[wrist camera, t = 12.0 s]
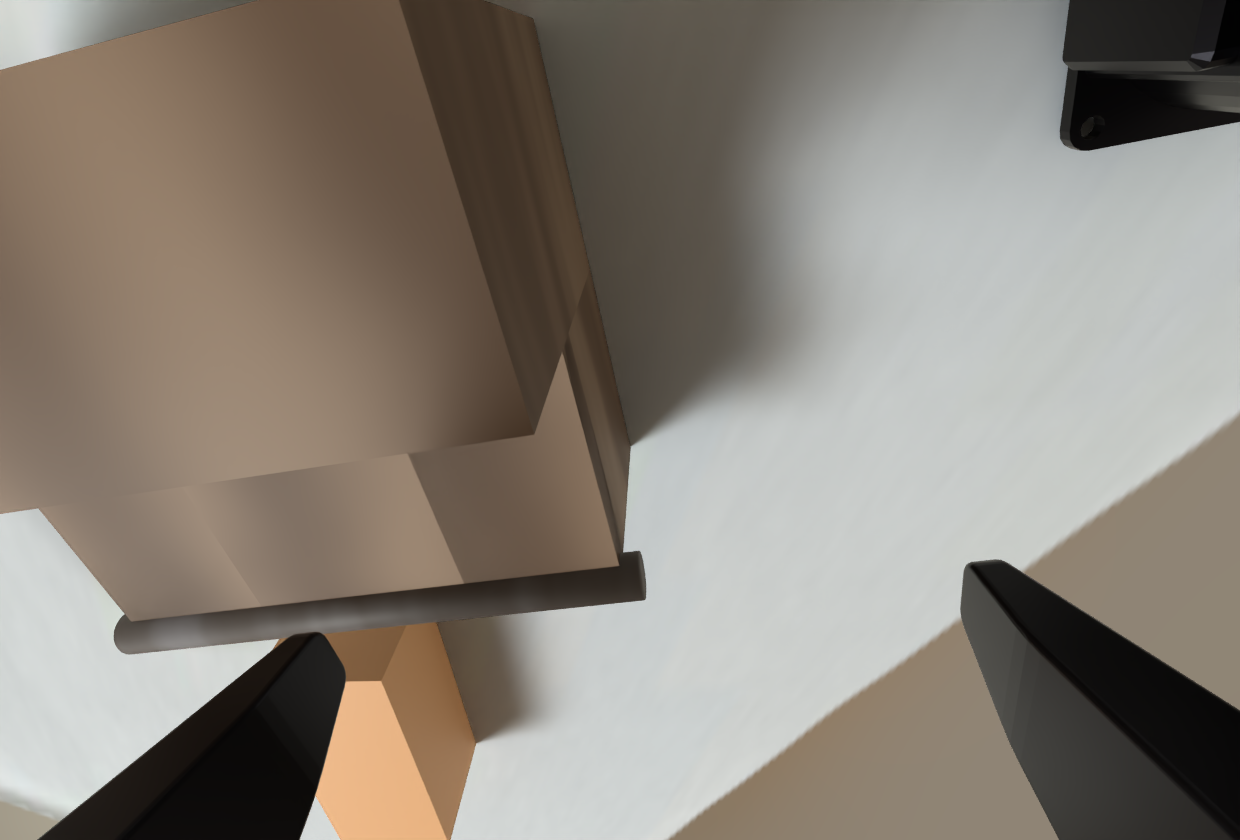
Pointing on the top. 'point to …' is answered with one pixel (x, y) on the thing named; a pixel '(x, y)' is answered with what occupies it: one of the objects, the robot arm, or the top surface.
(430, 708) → the orange rectangular block
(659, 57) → the top surface
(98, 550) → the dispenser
